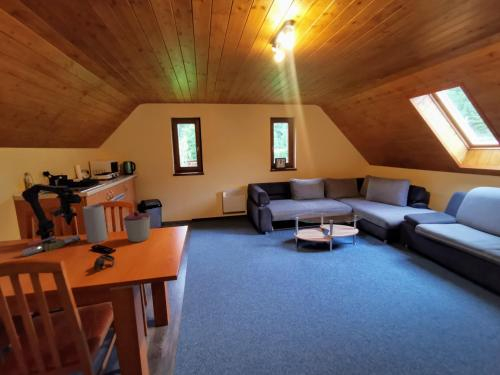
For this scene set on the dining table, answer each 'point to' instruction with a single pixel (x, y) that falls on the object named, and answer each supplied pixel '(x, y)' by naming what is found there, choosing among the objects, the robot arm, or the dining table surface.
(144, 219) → the canister
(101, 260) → the dark curved loop
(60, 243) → the valve
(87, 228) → the cylinder vase
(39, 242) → the lever
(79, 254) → the dining table surface
